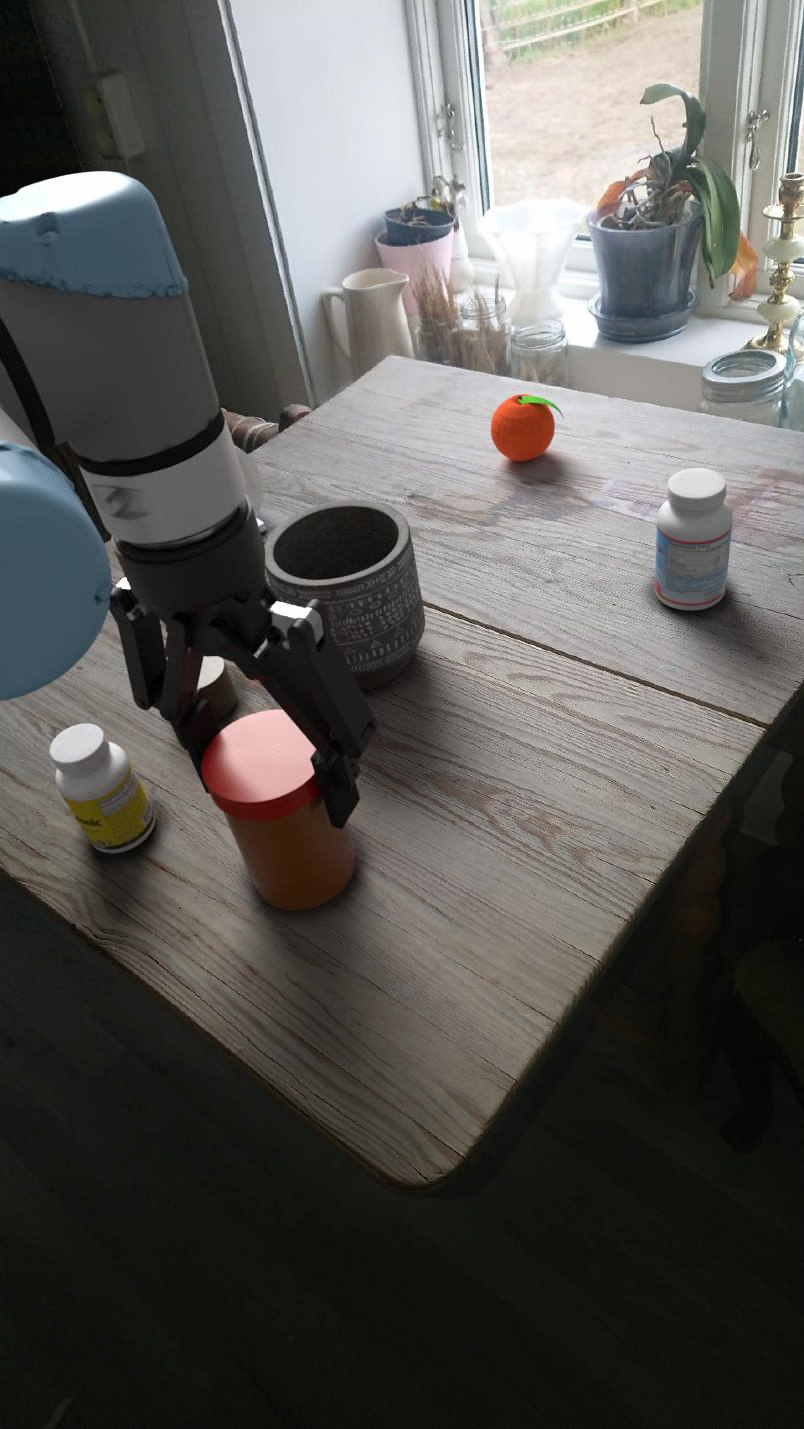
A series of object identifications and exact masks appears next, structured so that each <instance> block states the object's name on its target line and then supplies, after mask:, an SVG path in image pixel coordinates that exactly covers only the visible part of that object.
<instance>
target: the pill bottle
mask: <svg viewBox="0 0 804 1429" xmlns="http://www.w3.org/2000/svg"><path fill="white" fill-rule="evenodd" d="M666 490H667V492H666V498H667V500H665V501H664V502H663V504H661V506H660V508H659V510H658V513H657V519H656V537H655V538H656V539H655V564H654V566H655V567H654V592H655V595H656V597H657V598H658V600H659V601H660V602H661V603H662V604H664V605H665V606H667V607H670V608H673V609H676V610H681V611H702V610H707V609H709V608H711V607H713V606H715V605H716V604H718V603H719V602H720V601H721V600H722V599H723V597H724V595H725V594H726V590H727V580H728V571H729V561H730V560H729V559H730V549H731V539H732V527H733V511H732V507H731V506H730V504H728V502H727V501H726V500H725V499H726V498H727V481H726V478H725V477H724V476H723V475H722V474H721V473H720V472H718V471H716V470H713V469H709V468H703V467H692V468H687V469H683V470H682V469H681V470H680V471H677V472H676V473H674V474H673V475H671V477H670V478H669V479H668V482H667V489H666Z"/></svg>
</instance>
